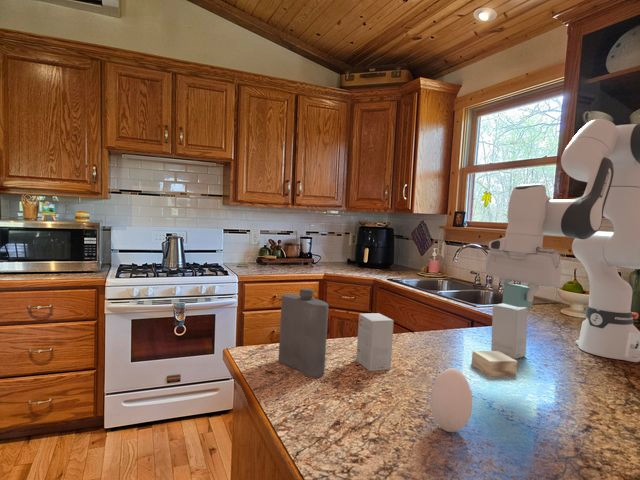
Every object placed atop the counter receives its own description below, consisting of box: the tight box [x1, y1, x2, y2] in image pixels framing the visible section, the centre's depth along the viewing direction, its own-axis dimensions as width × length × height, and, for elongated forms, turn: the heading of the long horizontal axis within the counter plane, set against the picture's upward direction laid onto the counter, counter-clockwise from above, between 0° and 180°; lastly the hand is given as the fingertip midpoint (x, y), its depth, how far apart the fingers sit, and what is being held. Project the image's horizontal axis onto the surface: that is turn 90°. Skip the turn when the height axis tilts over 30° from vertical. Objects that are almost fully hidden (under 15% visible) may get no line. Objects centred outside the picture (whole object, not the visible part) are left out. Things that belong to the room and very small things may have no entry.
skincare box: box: [490, 302, 528, 360], centre depth 122 cm, size 8×6×15 cm
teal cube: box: [501, 283, 534, 308], centre depth 105 cm, size 5×5×5 cm
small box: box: [355, 312, 395, 372], centre depth 106 cm, size 8×6×13 cm
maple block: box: [471, 350, 518, 377], centre depth 109 cm, size 8×8×4 cm
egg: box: [429, 367, 473, 433], centre depth 75 cm, size 7×7×12 cm
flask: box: [277, 287, 329, 379], centre depth 101 cm, size 15×6×20 cm, turn 44°
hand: (517, 298), depth 105 cm, fingers closed on teal cube, 5 cm apart
